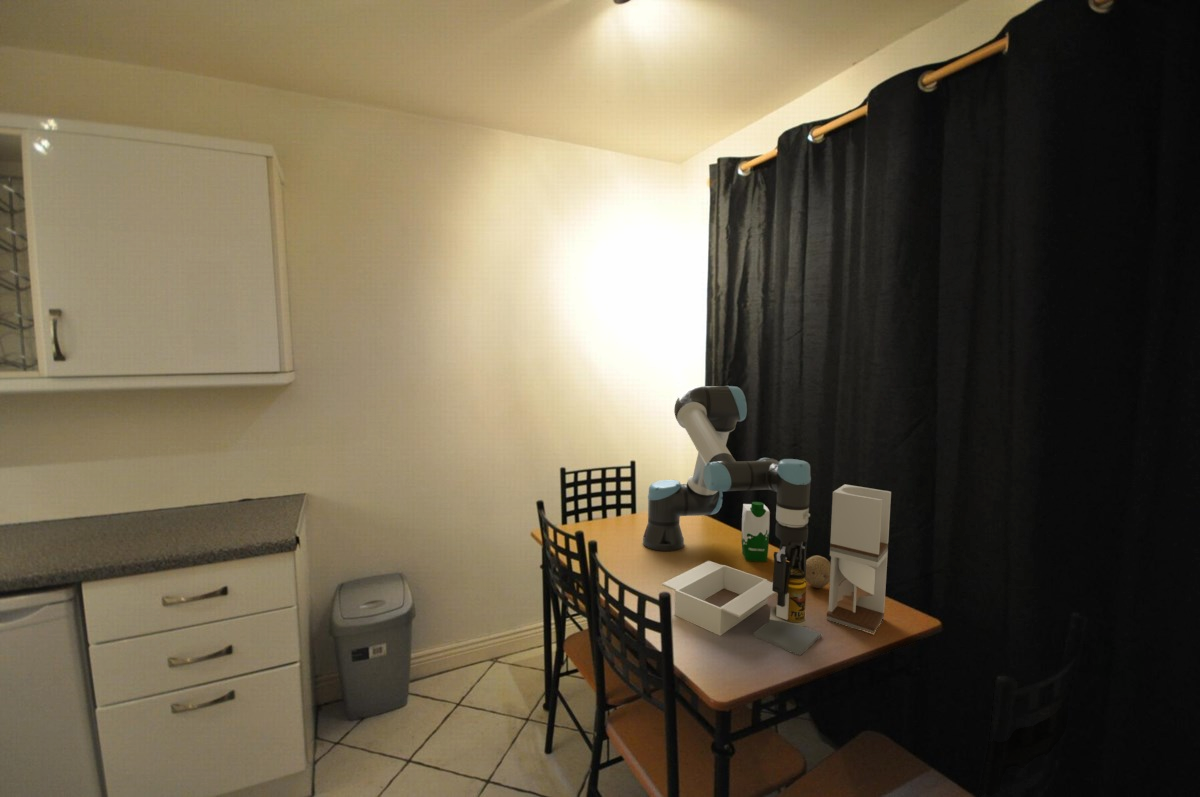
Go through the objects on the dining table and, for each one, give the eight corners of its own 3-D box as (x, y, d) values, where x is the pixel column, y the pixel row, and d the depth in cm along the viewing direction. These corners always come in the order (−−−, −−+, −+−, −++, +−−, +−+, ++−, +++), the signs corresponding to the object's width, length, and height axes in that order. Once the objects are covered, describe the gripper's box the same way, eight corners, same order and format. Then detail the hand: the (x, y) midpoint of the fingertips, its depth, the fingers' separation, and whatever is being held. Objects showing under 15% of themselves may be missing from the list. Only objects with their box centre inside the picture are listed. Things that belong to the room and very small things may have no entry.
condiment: (806, 626, 124) (808, 578, 123) (769, 620, 127) (771, 573, 126) (806, 612, 131) (808, 567, 130) (770, 606, 134) (772, 562, 133)
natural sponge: (830, 598, 150) (831, 564, 149) (798, 590, 155) (799, 558, 154) (834, 586, 158) (835, 554, 157) (803, 579, 162) (804, 548, 162)
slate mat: (753, 635, 130) (753, 632, 130) (776, 618, 138) (776, 615, 138) (800, 655, 121) (800, 652, 121) (821, 636, 130) (821, 633, 130)
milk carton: (743, 562, 176) (745, 504, 174) (739, 551, 185) (741, 497, 183) (770, 563, 175) (772, 505, 173) (764, 553, 184) (766, 498, 182)
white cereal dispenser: (826, 620, 138) (832, 491, 135) (838, 605, 146) (844, 484, 143) (873, 635, 130) (881, 500, 127) (883, 619, 138) (891, 491, 135)
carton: (660, 608, 143) (660, 584, 143) (709, 581, 160) (709, 560, 160) (737, 643, 126) (738, 616, 125) (783, 609, 143) (784, 585, 142)
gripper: (789, 535, 118) (785, 632, 120) (823, 517, 131) (819, 605, 133) (758, 527, 123) (755, 620, 125) (794, 511, 136) (791, 595, 138)
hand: (788, 612), depth 129 cm, fingers closed on condiment, 6 cm apart
